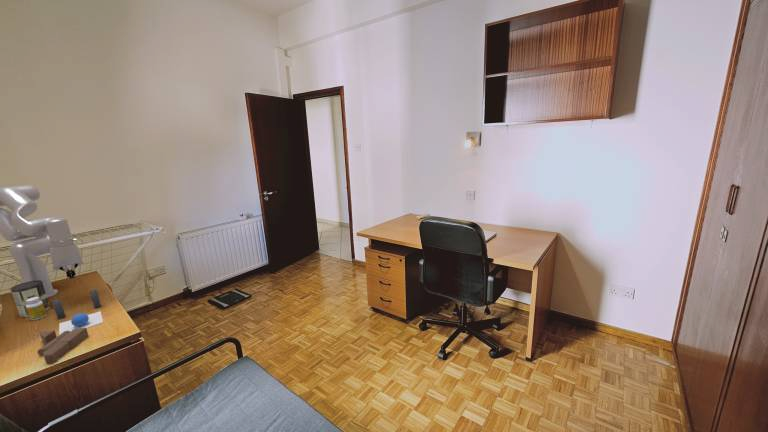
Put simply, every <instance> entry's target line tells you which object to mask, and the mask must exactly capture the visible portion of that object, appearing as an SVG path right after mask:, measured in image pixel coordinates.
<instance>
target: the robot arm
mask: <svg viewBox="0 0 768 432" xmlns="http://www.w3.org/2000/svg"><path fill="white" fill-rule="evenodd" d="M40 197H41V192H40V190H39V189H38V188H37V187H35V186H34V185H31V184H22V185H21V184H20V185H12V186H11V185H10V186H4V187H0V235H1V237H3V239H4V240H5V241H7V242H14V243H12V244H11V245H10V246H9V248H8V252H9V254H10V256H11V257H12V259H13V261H14V263H15V264H16V265H15V266H16V267H17V271H18V274H19V276H20V279H21V281H22V283H25V282H29V281H36V280H41V281H42V282H43V286H44V289H45V293H46V296H47V299H48V298H52V297H54V296H56V295H57V294H58V293H59V290H58V289H57V288H53V285H52V282H51V281H52V280H51V278H50V275H49V271H48V269H47V265H46V262H44V260H41V259H39V258H37V257H39V256H44V255H46V254H49V255H50V260H51V264H52V266H53V268H52V270H54V271H63V272H65V274H66V276H67V277H66V278H69V279H70V280H71V279H74V278H75V277H76V270H75V269H77V267H79V266H81V265H83V264H84V261H83V259H82V255H81V252H80V249H79V246H78V244H76V242H77V241H78V240H77V239H78V238H74V237H73V236H72V232H71V229H70V225H69V221H68V220H67V218H65V217H59V216H55V215H53V216H47V217H46V216H45V217H39V218H33V219H27V220H26V218H27V217H29V216H30V215H32V214H34V213H35V212H36V211H37V210H38V204H37V203H36V202H35V201H38V200H39V199H40ZM2 207H6V208H7V209H6V208H2ZM8 209H9V210H8ZM10 210H11V211H10ZM68 266H70V269H69V268H68Z"/></svg>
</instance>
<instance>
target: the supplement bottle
mask: <svg viewBox="0 0 768 432" xmlns="http://www.w3.org/2000/svg"><path fill="white" fill-rule="evenodd" d="M26 302H27V305H26V309H27V312H28V316H27V317H28V319H29V320H30V321H37V320H41V319H44V317H47V312H46V311H47V310H46V311H45V308H44V305H43V302H42V301H39V297H33V298H29V299H27V300H26Z"/></svg>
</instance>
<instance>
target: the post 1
mask: <svg viewBox="0 0 768 432" xmlns="http://www.w3.org/2000/svg"><path fill="white" fill-rule="evenodd" d="M51 302H52V306H53V308H54V312H55V314H56V319H57V320H61V319H64V318H66V314H65V313H66V312H65V311H64V307H63V303H62V299H61V298H57V299H53V300H52V301H51Z"/></svg>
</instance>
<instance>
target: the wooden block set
mask: <svg viewBox="0 0 768 432" xmlns="http://www.w3.org/2000/svg"><path fill="white" fill-rule="evenodd" d="M87 329H88V328H77V329H73V330H72V331H71V332H70V331H64V332H63V333H62V334H60V335H59V334H58V335H57V333H56V330H54V329H53V330H46V331H45V330H44V331H39V335H40V339H41V341H42V343H43V346H42V347H41V348H38V350H37V355H38V356H40V357H43V358H44V361H45V364H46V365H53V364H55V363H56V362H57V361H58V360H59V359H62V357H63V356H65V355H66V354H67V353H68V352H70V351H71V350H73V349H74V348H76V347H77V346H79V345H80V344H81V343H82V342H83V341H85V340H86V339H87V338H88V337H89V334H88V333H89V332H88V330H87Z"/></svg>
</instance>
